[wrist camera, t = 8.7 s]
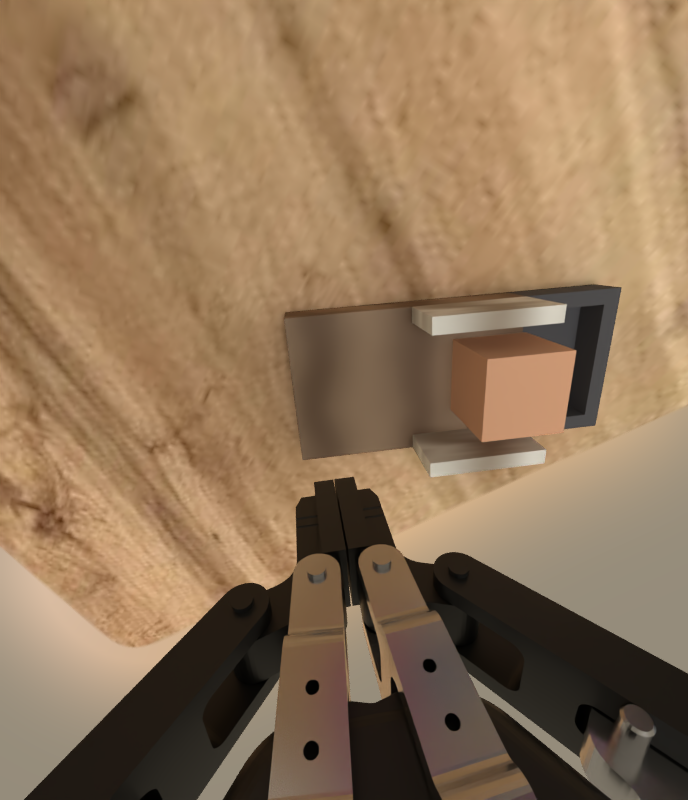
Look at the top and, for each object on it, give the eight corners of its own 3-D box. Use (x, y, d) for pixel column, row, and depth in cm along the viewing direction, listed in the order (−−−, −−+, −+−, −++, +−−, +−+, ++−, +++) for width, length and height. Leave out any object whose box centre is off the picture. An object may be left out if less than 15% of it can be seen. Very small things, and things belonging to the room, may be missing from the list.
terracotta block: (450, 409, 27) (481, 442, 22) (452, 339, 25) (487, 359, 20) (518, 401, 27) (563, 432, 22) (526, 332, 25) (576, 350, 21)
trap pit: (496, 421, 30) (512, 435, 28) (506, 292, 27) (526, 296, 24) (573, 412, 31) (595, 425, 28) (594, 284, 27) (621, 287, 25)
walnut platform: (302, 443, 29) (302, 493, 23) (285, 312, 26) (280, 331, 20) (496, 421, 30) (544, 463, 24) (506, 292, 27) (566, 304, 21)
